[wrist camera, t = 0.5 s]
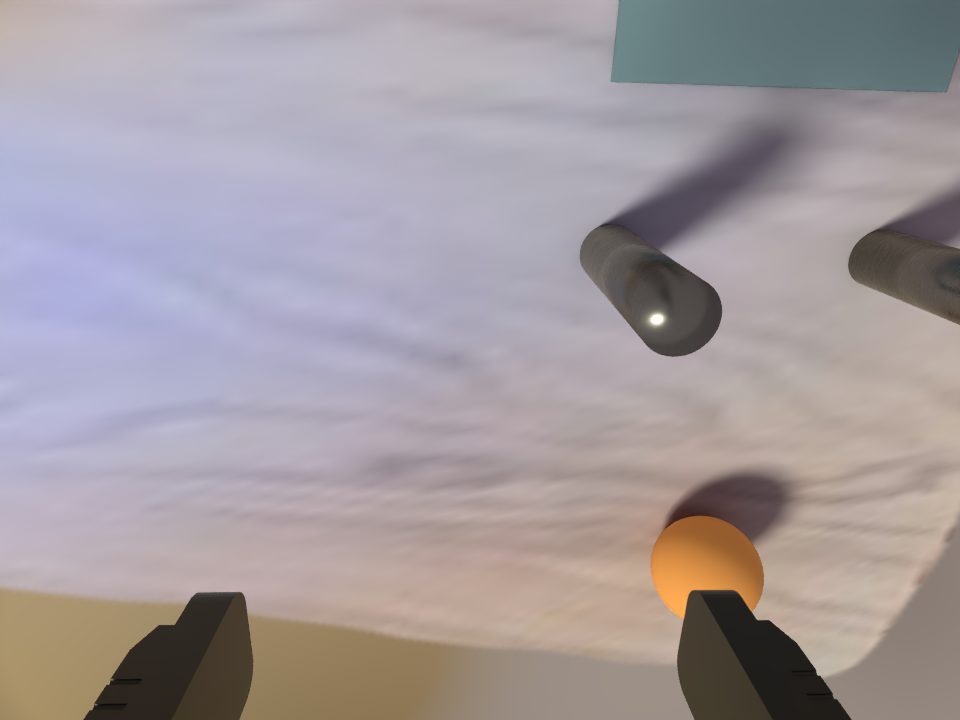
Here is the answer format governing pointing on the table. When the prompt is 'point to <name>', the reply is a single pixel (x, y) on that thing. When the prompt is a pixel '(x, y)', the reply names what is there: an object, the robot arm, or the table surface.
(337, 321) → the table surface
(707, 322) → the post
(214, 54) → the table surface
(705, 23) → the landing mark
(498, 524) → the table surface
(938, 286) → the post
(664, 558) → the ball
